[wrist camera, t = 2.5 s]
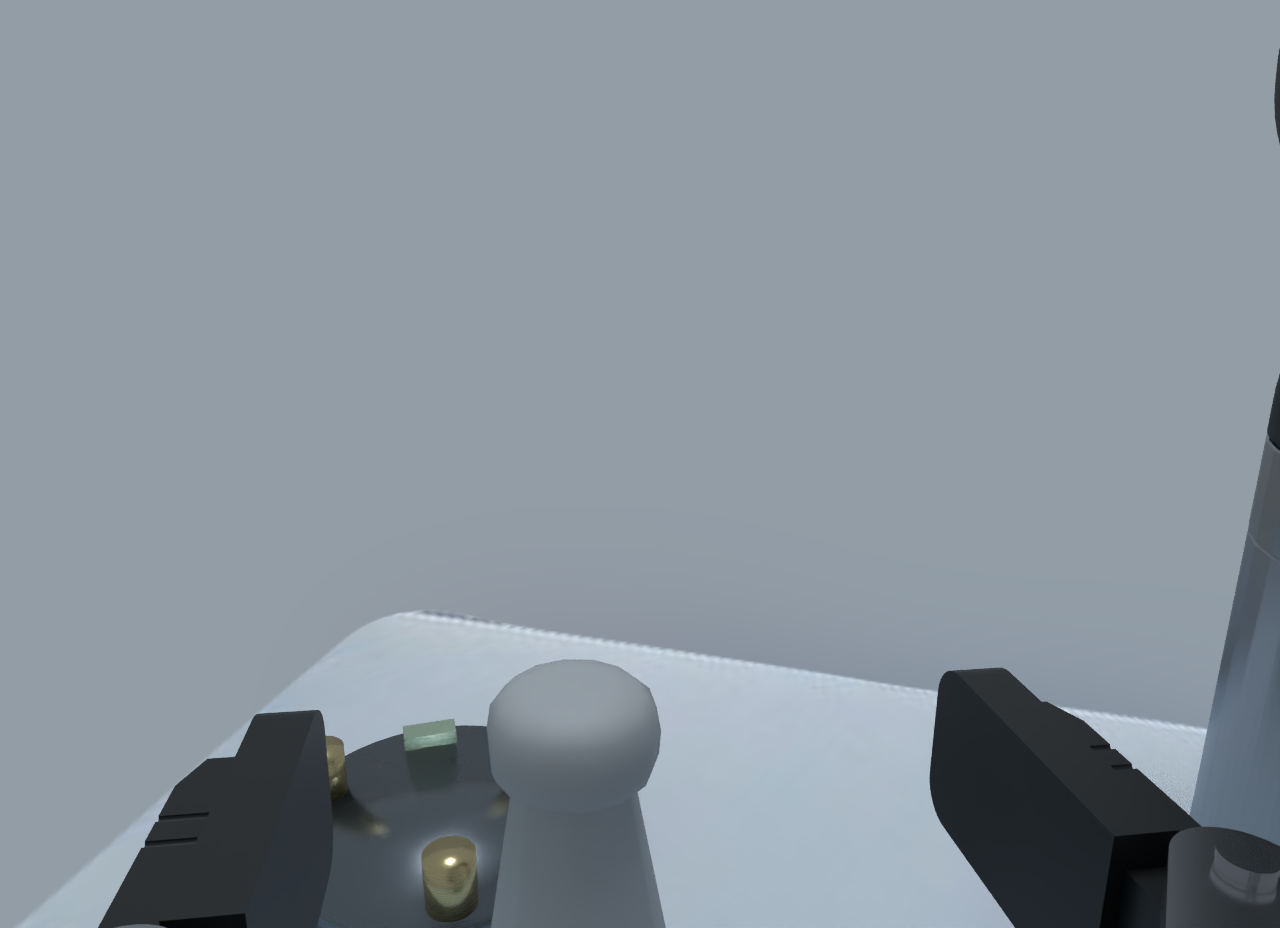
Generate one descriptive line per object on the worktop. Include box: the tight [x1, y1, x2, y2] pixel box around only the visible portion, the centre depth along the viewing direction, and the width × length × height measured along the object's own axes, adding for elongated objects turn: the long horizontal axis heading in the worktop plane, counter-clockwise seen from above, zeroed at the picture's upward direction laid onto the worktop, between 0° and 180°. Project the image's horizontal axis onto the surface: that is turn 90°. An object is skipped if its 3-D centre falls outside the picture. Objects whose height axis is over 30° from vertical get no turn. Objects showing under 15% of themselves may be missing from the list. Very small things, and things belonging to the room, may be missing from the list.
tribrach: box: [317, 719, 510, 928], centre depth 37 cm, size 12×12×3 cm
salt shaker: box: [487, 660, 666, 928], centre depth 26 cm, size 6×6×13 cm
